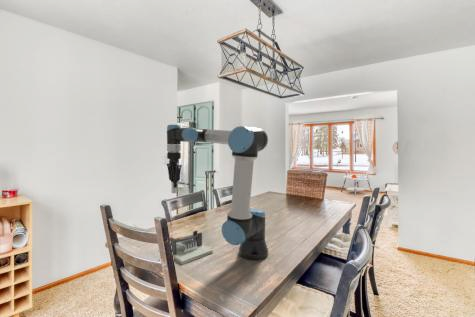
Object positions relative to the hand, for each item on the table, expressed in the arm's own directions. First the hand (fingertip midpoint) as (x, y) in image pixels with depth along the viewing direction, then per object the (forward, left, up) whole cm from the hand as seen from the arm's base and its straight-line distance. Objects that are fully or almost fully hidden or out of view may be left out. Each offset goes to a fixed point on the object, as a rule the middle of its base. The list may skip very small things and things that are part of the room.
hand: (174, 192), depth 137 cm
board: (-16, +2, -28) cm, 33 cm away
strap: (-16, +1, -22) cm, 28 cm away
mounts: (-16, +2, -27) cm, 31 cm away
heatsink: (-16, +2, -27) cm, 31 cm away
